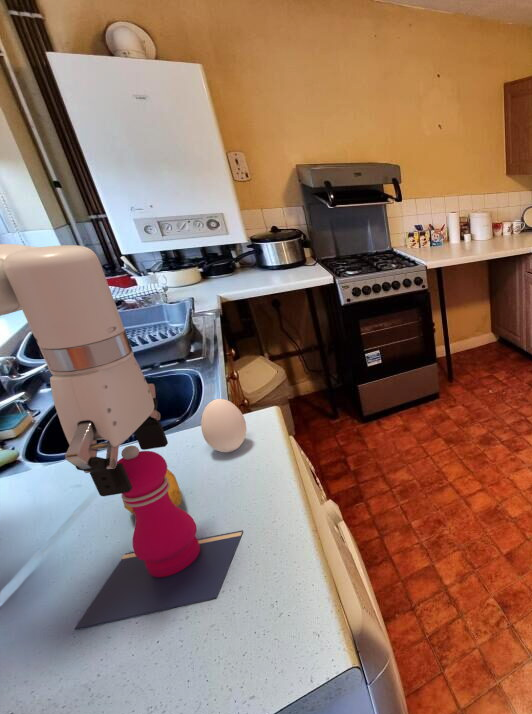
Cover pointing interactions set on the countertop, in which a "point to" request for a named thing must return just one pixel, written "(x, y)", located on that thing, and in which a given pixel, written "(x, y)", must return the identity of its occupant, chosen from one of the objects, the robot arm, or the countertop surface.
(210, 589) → the napkin
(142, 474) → the pepper mill
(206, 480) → the countertop surface
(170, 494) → the potato
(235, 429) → the egg
